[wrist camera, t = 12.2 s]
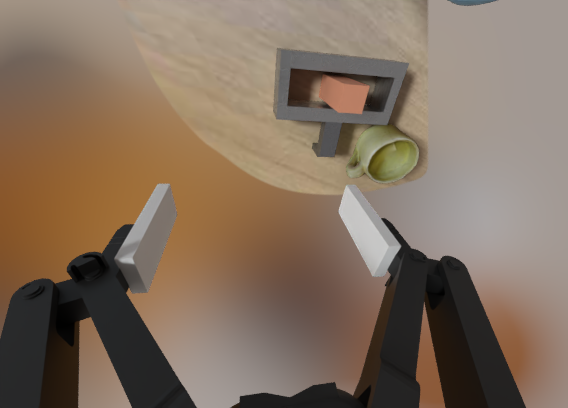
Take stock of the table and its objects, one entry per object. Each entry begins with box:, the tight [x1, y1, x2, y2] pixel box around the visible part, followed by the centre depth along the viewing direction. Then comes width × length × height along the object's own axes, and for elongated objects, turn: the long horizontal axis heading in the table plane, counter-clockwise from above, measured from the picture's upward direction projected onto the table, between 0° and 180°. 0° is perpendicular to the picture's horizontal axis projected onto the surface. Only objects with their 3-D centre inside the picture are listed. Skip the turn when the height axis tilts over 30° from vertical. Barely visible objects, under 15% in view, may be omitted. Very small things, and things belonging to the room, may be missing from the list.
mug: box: [346, 124, 419, 183], centre depth 43 cm, size 12×10×10 cm
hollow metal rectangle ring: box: [273, 48, 409, 157], centre depth 38 cm, size 16×19×5 cm
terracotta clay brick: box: [319, 74, 369, 114], centre depth 34 cm, size 4×4×10 cm
